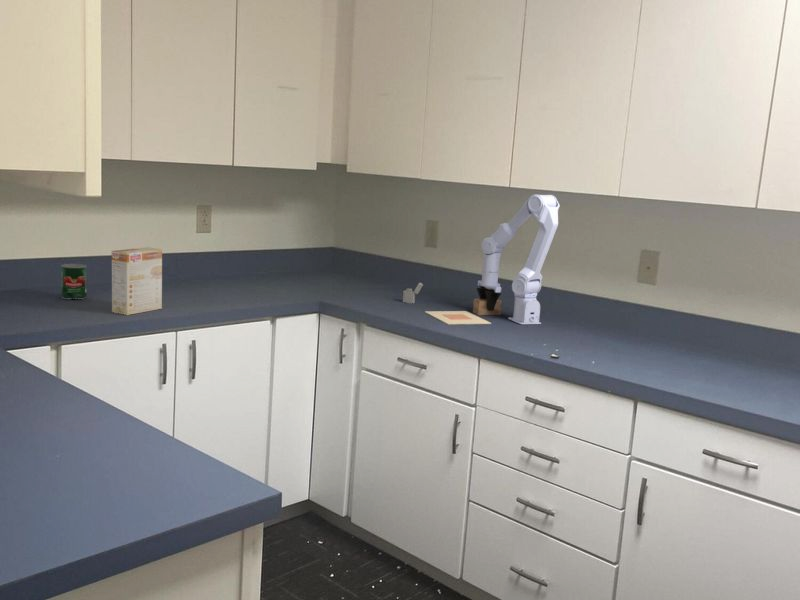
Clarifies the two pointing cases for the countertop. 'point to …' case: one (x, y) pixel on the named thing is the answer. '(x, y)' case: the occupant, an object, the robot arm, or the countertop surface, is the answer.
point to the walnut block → (481, 307)
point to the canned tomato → (73, 281)
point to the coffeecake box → (136, 280)
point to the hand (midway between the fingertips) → (487, 309)
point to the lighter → (411, 294)
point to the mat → (457, 317)
